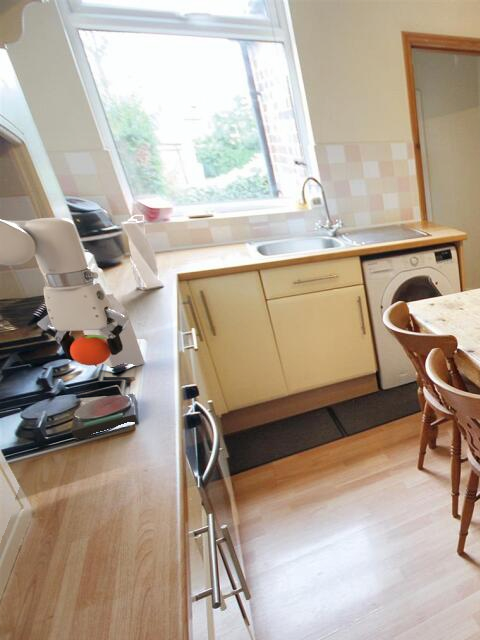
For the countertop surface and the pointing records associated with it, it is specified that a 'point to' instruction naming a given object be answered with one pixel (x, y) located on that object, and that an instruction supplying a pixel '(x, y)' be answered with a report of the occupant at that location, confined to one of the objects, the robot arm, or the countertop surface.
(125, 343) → the milk carton
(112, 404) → the scale pan
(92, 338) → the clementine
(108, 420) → the scale
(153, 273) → the white tapered tower
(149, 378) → the countertop surface
